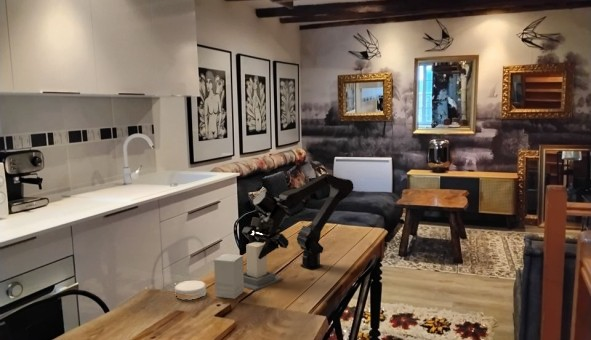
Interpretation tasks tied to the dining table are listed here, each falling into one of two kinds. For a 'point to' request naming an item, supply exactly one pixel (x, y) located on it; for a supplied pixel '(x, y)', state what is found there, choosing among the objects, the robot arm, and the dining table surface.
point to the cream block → (255, 260)
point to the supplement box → (229, 276)
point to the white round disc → (191, 288)
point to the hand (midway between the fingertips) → (253, 257)
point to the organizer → (259, 280)
